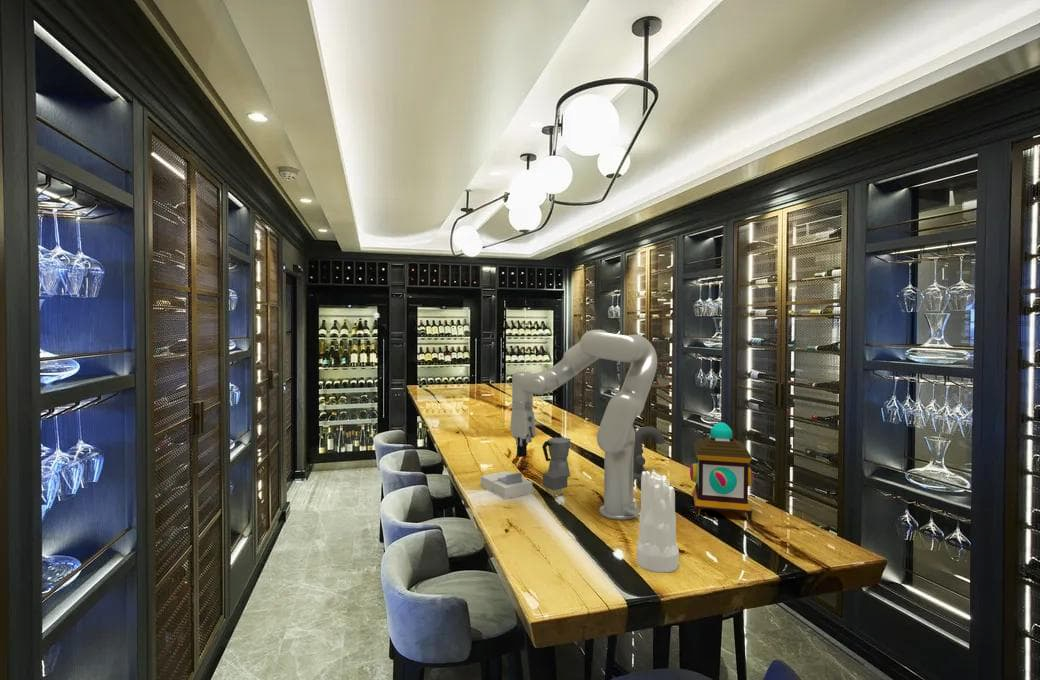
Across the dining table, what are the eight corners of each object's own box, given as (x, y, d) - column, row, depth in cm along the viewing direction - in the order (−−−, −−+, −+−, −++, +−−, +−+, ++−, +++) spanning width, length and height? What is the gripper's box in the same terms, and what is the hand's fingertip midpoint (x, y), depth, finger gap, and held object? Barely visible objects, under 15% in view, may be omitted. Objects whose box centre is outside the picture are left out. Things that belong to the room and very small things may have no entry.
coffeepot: (562, 470, 225) (562, 429, 225) (578, 475, 218) (578, 432, 217) (535, 477, 216) (535, 434, 215) (550, 483, 208) (550, 438, 208)
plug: (567, 495, 194) (567, 475, 194) (553, 498, 190) (553, 478, 190) (556, 490, 199) (556, 470, 199) (542, 493, 196) (542, 473, 196)
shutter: (522, 481, 197) (522, 473, 197) (507, 484, 193) (507, 476, 193) (512, 477, 203) (512, 468, 203) (497, 480, 199) (497, 471, 199)
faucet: (670, 480, 212) (670, 430, 212) (630, 479, 213) (631, 430, 212) (659, 467, 230) (659, 422, 230) (623, 467, 231) (623, 422, 230)
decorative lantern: (747, 502, 186) (749, 418, 185) (757, 523, 167) (758, 429, 165) (688, 497, 191) (689, 415, 190) (690, 517, 172) (691, 426, 171)
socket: (532, 492, 197) (532, 482, 196) (505, 499, 190) (505, 488, 190) (506, 480, 212) (506, 470, 211) (480, 486, 205) (480, 475, 205)
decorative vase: (671, 553, 145) (671, 464, 144) (684, 572, 135) (685, 475, 134) (632, 554, 145) (632, 464, 144) (642, 573, 134) (642, 476, 133)
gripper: (542, 408, 186) (542, 459, 187) (519, 402, 198) (518, 450, 199) (525, 410, 182) (524, 462, 183) (502, 403, 194) (502, 453, 195)
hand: (521, 456), depth 191 cm, fingers closed
